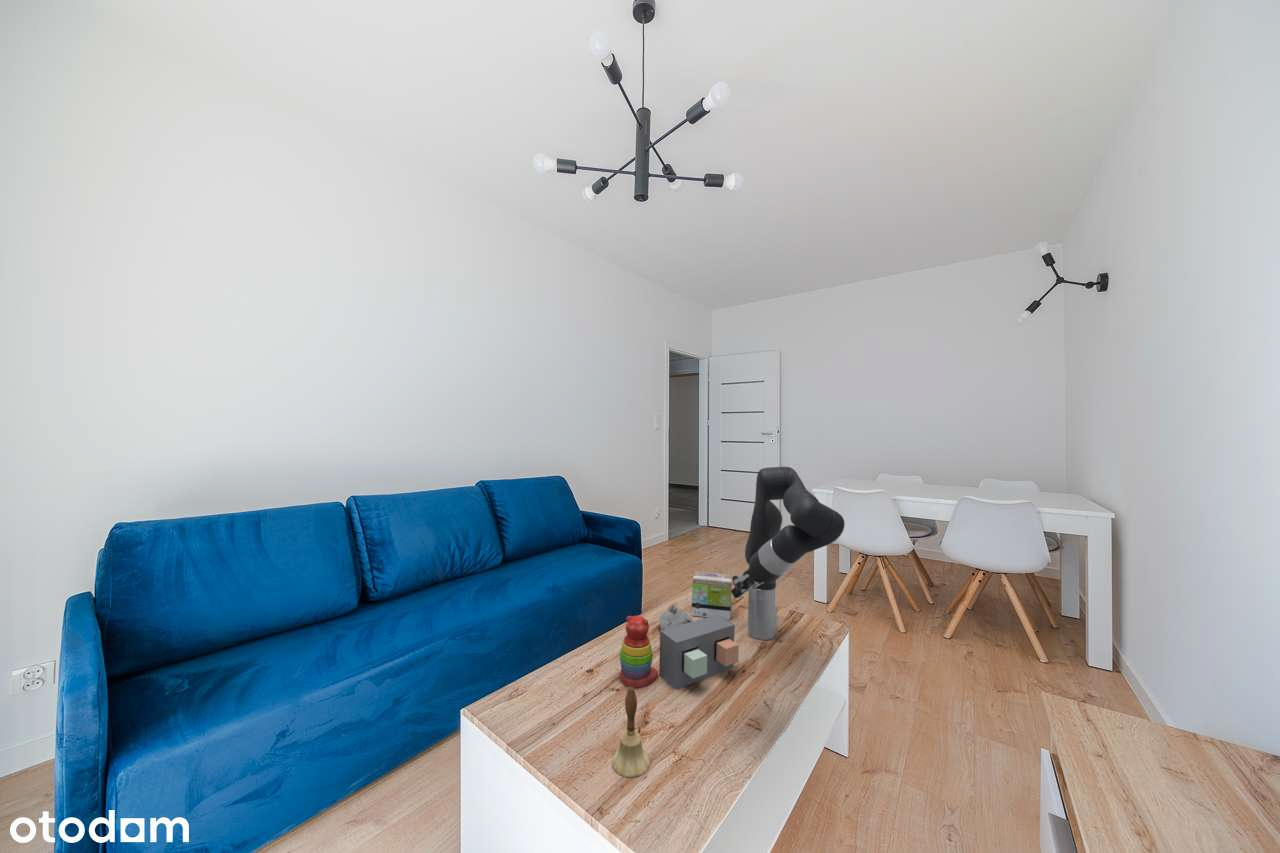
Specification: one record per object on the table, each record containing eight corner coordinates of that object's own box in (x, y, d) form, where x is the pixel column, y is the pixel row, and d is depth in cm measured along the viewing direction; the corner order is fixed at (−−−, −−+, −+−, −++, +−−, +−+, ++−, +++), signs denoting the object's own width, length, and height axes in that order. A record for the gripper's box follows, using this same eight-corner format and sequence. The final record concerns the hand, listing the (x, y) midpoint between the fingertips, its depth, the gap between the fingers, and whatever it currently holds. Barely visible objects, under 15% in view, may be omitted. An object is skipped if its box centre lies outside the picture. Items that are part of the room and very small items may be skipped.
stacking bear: (660, 674, 127) (661, 613, 127) (646, 692, 118) (647, 627, 118) (627, 664, 132) (628, 606, 132) (611, 682, 122) (612, 619, 123)
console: (715, 655, 138) (716, 614, 138) (733, 667, 131) (734, 624, 131) (659, 675, 126) (660, 630, 126) (675, 689, 120) (676, 642, 120)
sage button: (697, 666, 123) (698, 648, 123) (706, 673, 120) (707, 655, 120) (683, 671, 121) (684, 653, 121) (692, 678, 117) (693, 660, 117)
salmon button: (728, 655, 130) (729, 638, 130) (738, 661, 126) (738, 644, 126) (716, 659, 127) (716, 642, 127) (725, 666, 124) (725, 648, 124)
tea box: (691, 617, 166) (692, 578, 166) (692, 606, 176) (693, 570, 176) (731, 620, 164) (731, 581, 164) (730, 609, 174) (730, 573, 174)
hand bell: (610, 777, 89) (611, 700, 89) (612, 747, 97) (614, 677, 98) (650, 778, 89) (652, 700, 89) (649, 748, 98) (650, 677, 98)
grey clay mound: (683, 647, 148) (679, 620, 146) (654, 637, 155) (650, 612, 152) (698, 624, 158) (695, 599, 155) (670, 616, 164) (666, 592, 162)
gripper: (783, 542, 108) (745, 576, 118) (744, 549, 101) (708, 585, 111) (800, 570, 103) (760, 603, 113) (761, 579, 96) (722, 613, 106)
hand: (734, 594), depth 112 cm, fingers closed
